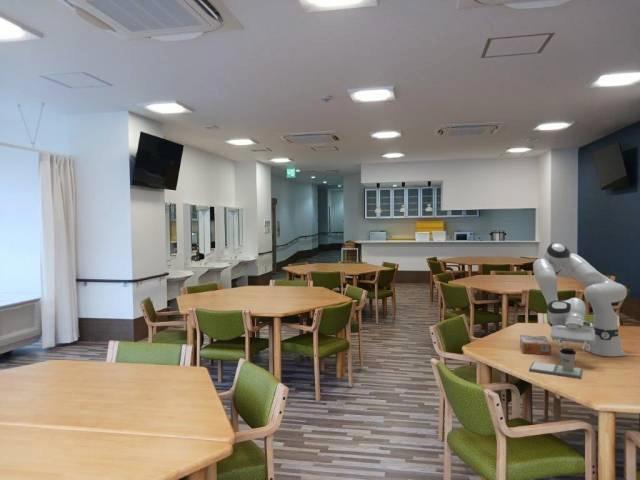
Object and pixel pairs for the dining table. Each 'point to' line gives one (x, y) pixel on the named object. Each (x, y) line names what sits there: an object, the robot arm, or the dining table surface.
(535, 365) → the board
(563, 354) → the coffee cup
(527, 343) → the cracker box
